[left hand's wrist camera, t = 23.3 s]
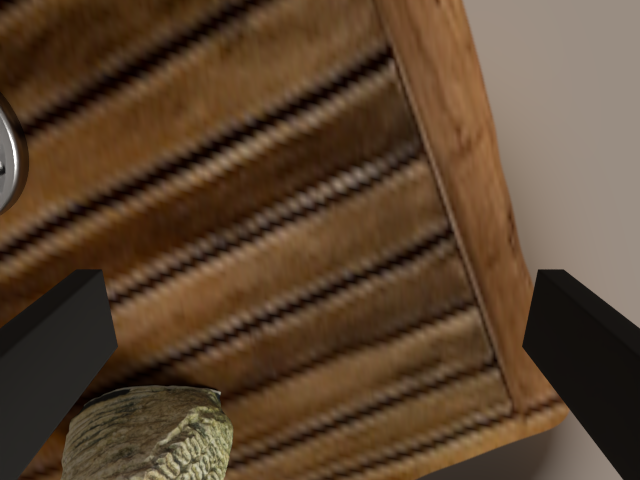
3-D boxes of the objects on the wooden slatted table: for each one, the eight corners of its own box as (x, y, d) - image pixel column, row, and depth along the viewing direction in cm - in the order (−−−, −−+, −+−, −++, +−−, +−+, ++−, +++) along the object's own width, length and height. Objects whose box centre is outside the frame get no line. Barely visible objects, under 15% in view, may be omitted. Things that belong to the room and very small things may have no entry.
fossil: (252, 417, 47) (223, 559, 33) (108, 457, 49) (24, 606, 35) (220, 355, 44) (173, 483, 30) (68, 401, 46) (-41, 540, 32)
